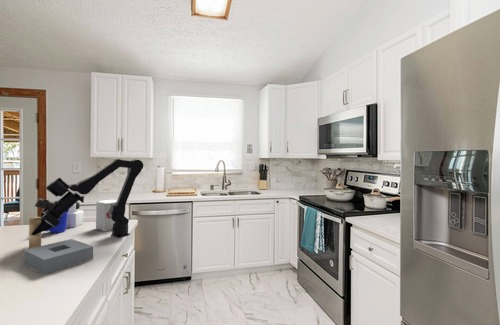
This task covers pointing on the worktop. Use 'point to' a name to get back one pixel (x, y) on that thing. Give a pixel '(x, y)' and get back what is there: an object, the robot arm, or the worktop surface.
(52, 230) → the mug
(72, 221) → the container
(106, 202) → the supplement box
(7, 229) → the worktop surface
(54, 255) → the socket block
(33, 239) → the pin
